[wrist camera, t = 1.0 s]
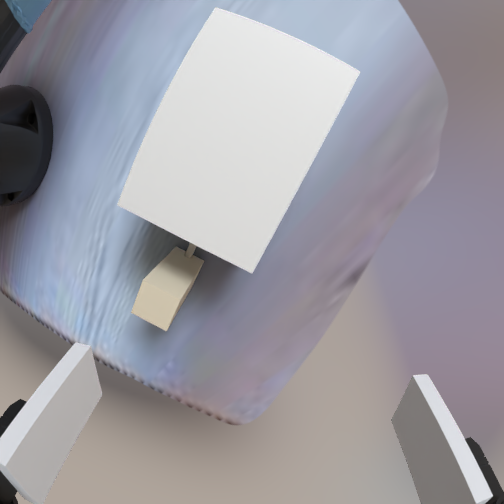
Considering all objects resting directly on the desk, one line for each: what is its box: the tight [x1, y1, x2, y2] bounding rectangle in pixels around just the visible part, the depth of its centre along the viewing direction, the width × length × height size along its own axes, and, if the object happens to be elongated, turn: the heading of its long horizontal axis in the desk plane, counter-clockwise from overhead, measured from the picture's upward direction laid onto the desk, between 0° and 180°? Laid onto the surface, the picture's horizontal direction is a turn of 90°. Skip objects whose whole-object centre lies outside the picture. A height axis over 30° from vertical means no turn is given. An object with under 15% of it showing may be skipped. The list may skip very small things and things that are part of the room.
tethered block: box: [131, 243, 204, 331], centre depth 25 cm, size 6×20×9 cm, turn 153°
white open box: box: [117, 7, 360, 273], centre depth 23 cm, size 10×15×10 cm
